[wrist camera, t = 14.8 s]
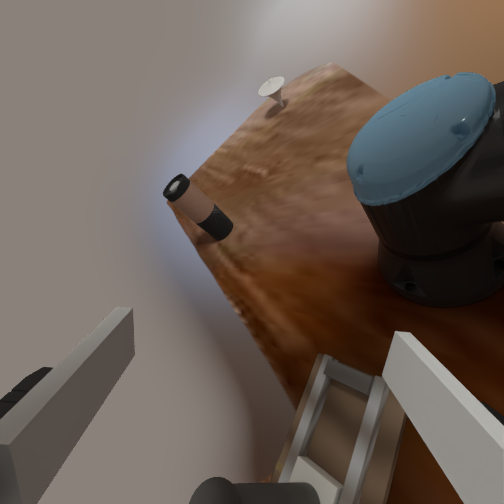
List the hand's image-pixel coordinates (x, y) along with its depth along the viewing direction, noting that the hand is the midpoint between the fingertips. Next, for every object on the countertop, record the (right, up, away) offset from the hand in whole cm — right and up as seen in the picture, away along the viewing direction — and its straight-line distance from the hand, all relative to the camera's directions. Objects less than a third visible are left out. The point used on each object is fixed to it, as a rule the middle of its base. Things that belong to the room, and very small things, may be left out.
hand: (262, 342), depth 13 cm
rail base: (+9, -22, +18) cm, 29 cm away
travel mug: (-9, +11, +64) cm, 66 cm away
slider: (+7, -23, +16) cm, 29 cm away
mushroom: (+12, +63, +90) cm, 110 cm away
